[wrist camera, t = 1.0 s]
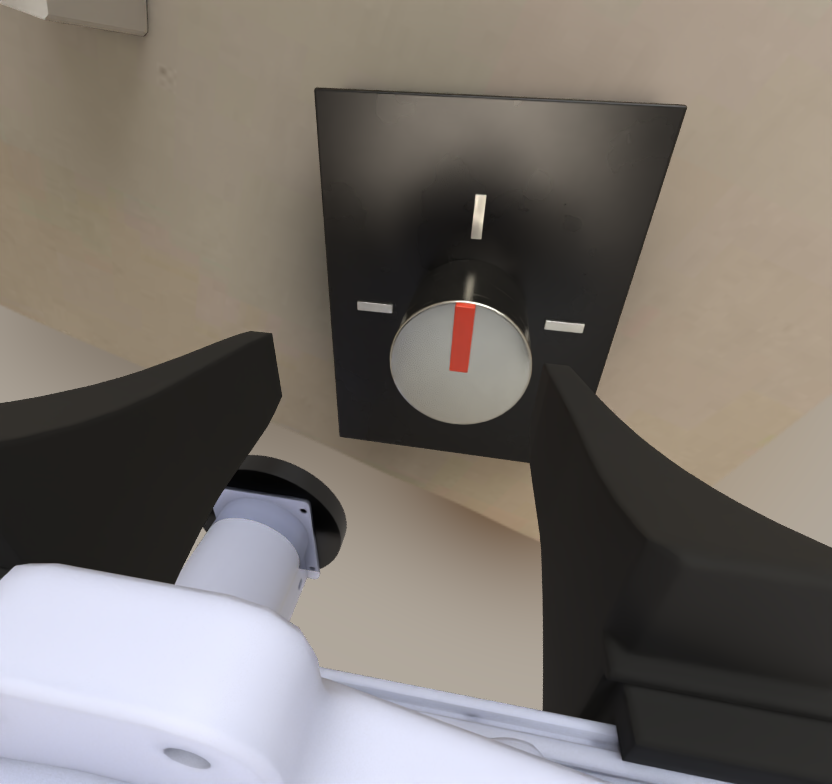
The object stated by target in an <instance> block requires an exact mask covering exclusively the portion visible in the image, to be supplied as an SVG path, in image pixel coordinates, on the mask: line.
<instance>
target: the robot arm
mask: <svg viewBox="0 0 832 784" xmlns="http://www.w3.org/2000/svg"><path fill="white" fill-rule="evenodd" d="M281 398H282V392H281V386H280V380H279V374H278V368H277V361H276V355H275V349H274V343H273V337H272V333H263V332H254V331H249V332H245V333H242V334H238V335H235V336H233V337H230V338H227V339H224V340H222V341H219V342H217V343H214V344H211V345H209V346H206V347H204V348H201V349H199V350H196V351H194V352H191V353H189V354H186V355H184V356H181V357H178V358H176V359H173V360H170V361H167V362H164V363H162V364H159V365H156V366H153V367H151V368H148V369H145V370H142V371H139V372H136V373H133V374H130V375H127V376H124V377H120V378H116V379H113V380H109V381H106V382H102V383H99V384H95V385H91V386H87V387H82V388H78V389H73V390H68V391H64V392H59V393H55V394H50V395H45V396H41V397H35V398H29V399H23V400H18V401H12V402H5V403H0V784H832V548H831V547H829V546H827V545H825V544H822V543H820V542H817V541H816V540H814V539H811V538H809V537H807V536H805V535H803V534H801V533H798V532H796V531H794V530H792V529H790V528H787V527H785V526H783V525H781V524H778V523H777V522H775V521H773V520H771V519H769V518H767V517H765V516H763V515H761V514H759V513H757V512H755V511H753V510H751V509H750V508H748V507H746V506H744V505H742V504H740V503H738V502H736V501H735V500H733V499H731V498H729V497H728V496H726V495H724V494H722V493H721V492H719V491H717V490H716V489H714V488H712V487H711V486H709V485H707V484H706V483H704V482H703V481H701V480H700V479H698V478H696V477H695V476H693V475H692V474H690V473H688V472H687V471H685V470H684V469H682V468H681V467H679V466H678V465H677V464H675V463H674V462H672V461H671V460H669V459H668V458H667V457H665V456H664V455H663V454H661V453H660V452H659V451H657V450H656V449H655V448H653V447H652V446H651V445H649V444H648V443H647V442H646V441H645V440H643V439H642V438H641V437H640V436H638V435H637V434H636V433H635V432H634V431H633V430H632V429H631V428H629V427H628V426H627V425H626V424H625V423H624V422H623V421H622V420H620V419H619V418H618V417H617V416H616V415H615V414H614V413H613V412H612V411H611V410H610V409H609V408H608V407H607V406H606V405H605V404H604V403H603V402H602V401H601V400H600V399H599V398H598V397H597V395H596V394H595V393H594V392H593V391H592V390H591V389H590V388H589V387H588V386H587V385H586V384H585V382H584V381H583V380H582V379H581V378H580V377H579V376H578V375H577V374H576V373H575V371H574V370H573V369H572V368H571V367H570V366H566V365H557V364H548V363H544V365H543V369H542V373H541V378H540V382H539V387H538V391H537V396H536V400H535V405H534V409H533V413H532V418H531V422H530V427H529V461H530V469H531V476H532V483H533V490H534V497H535V504H536V511H537V518H538V525H539V532H540V542H541V556H542V557H541V558H542V589H543V590H542V591H543V711H541V710H536V709H531V708H526V707H521V706H516V705H511V704H505V703H500V702H495V701H490V700H485V699H480V698H475V697H470V696H465V695H460V694H454V693H449V692H444V691H440V690H435V689H430V688H424V687H419V686H414V685H409V684H404V683H399V682H393V681H389V680H383V679H379V678H374V677H369V676H364V675H358V674H353V673H348V672H343V671H338V670H332V669H328V668H323V667H319V663H318V659H317V657H316V655H315V653H314V651H313V649H312V647H311V646H310V644H309V642H308V641H307V639H306V638H305V636H304V634H303V633H302V631H301V630H300V628H299V627H297V626H296V625H294V624H293V623H291V622H290V619H291V616H292V614H293V611H294V609H295V606H296V604H297V601H298V599H299V596H300V594H301V592H302V589H303V587H304V584H305V582H306V579H307V578H310V579H318V578H319V576H320V567H319V560H318V552H317V545H316V537H315V530H314V523H313V515H312V508H311V503H310V501H309V500H307V499H305V498H299V497H292V496H286V495H280V494H273V493H267V492H260V491H254V490H247V489H241V488H235V487H228V486H226V485H227V484H228V483H229V481H230V480H231V478H232V477H233V475H234V474H235V473H236V471H237V470H238V468H239V467H240V465H241V464H242V463H243V461H244V460H245V458H246V457H247V455H248V454H249V453H250V451H251V450H252V448H253V447H254V445H255V444H256V442H257V441H258V440H259V438H260V437H261V435H262V434H263V432H264V431H265V429H266V428H267V426H268V424H269V423H270V421H271V419H272V417H273V415H274V413H275V411H276V409H277V406H278V404H279V402H280V400H281ZM212 509H214V513H215V516H216V520H215V521H214V523H213V524H212V526H211V527H210V528H209V530H208V531H207V533H206V534H205V536H204V537H203V539H202V540H201V542H200V543H199V545H198V546H197V548H196V549H195V551H194V552H193V554H192V555H191V556H190V558H189V559H188V561H187V562H186V564H185V565H184V563H185V561H186V559H187V557H188V555H189V553H190V551H191V549H192V547H193V545H194V543H195V541H196V539H197V537H198V535H199V533H200V531H201V529H202V527H203V525H204V524H205V522H206V520H207V518H208V516H209V514H210V513H211V511H212ZM183 565H184V567H183ZM182 567H183V568H182ZM181 569H182V570H181Z"/></svg>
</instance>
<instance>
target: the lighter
mask: <svg viewBox="0 0 832 784" xmlns="http://www.w3.org/2000/svg"><path fill="white" fill-rule="evenodd" d="M0 4H3V5H5V6H8V7H11V8H14V9H16V10H19V11H22V12H24V13H27V14H30V15H33V16H35V17H38V18H41V19H44V20H49V21H55V22H61V23H67V24H73V25H79V26H85V27H91V28H97V29H103V30H109V31H115V32H121V33H127V34H132V35H138V36H144V35H145V34H146V33H147V32H148V31H147V10H146V0H0Z"/></svg>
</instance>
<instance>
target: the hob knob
mask: <svg viewBox="0 0 832 784" xmlns="http://www.w3.org/2000/svg"><path fill="white" fill-rule="evenodd" d="M390 369H391V374H392V377H393V380H394V382H395V384H396V386H397V388H398V390H399V392H400V393H401V394H402V396H403V397H404V398H405V399H406V400H407V402H408V403H409V404H411V405H412V406H413V407H414V408H415V409H417V410H418V411H420V412H421V413H423V414H425V415H426V416H428V417H431V418H433V419H436V420H439V421H442V422H446V423H451V424H476V423H481V422H485V421H488V420H491V419H494V418H496V417H498V416H500V415H502V414H503V413H505V412H506V411H508V410H509V409H510V408H511V407H513V406H514V405H515V404H516V403H517V402H518V400H519V399H520V398H521V397H522V395H523V394H524V392H525V391H526V389H527V387H528V384H529V382H530V378H531V374H532V352H531V343H530V334H529V325H528V316H527V308H526V302H525V299H524V295H523V293H522V291H521V289H520V287H519V286H518V284H517V283H516V281H515V280H514V279H513V278H512V277H511V276H510V275H509V274H508V273H507V272H505V271H504V270H503V269H501V268H499V267H498V266H496V265H493V264H491V263H489V262H485V261H482V260H475V259H462V260H455V261H451V262H448V263H445V264H443V265H441V266H439V267H437V268H435V269H434V270H433V271H431V272H430V273H429V274H428V275H427V276H426V277H425V278H424V279H423V280H422V281H421V282H420V284H419V285H418V287H417V289H416V290H415V293H414V295H413V297H412V299H411V301H410V304H409V306H408V308H407V310H406V312H405V315H404V317H403V319H402V321H401V324H400V326H399V328H398V330H397V332H396V335H395V337H394V339H393V342H392V345H391V350H390Z"/></svg>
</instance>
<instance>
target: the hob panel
mask: <svg viewBox="0 0 832 784" xmlns="http://www.w3.org/2000/svg"><path fill="white" fill-rule="evenodd" d="M314 93H315V107H316V121H317V134H318V148H319V162H320V175H321V189H322V203H323V216H324V230H325V243H326V257H327V271H328V284H329V298H330V312H331V325H332V339H333V352H334V366H335V380H336V393H337V407H338V421H339V434H340V437H345V438H353V439H360V440H367V441H374V442H382V443H389V444H396V445H403V446H411V447H418V448H425V449H432V450H440V451H447V452H454V453H461V454H469V455H476V456H483V457H490V458H498V459H505V460H512V461H519V462H527V463H530V461H529V427H530V422H531V418H532V413H533V409H534V405H535V400H536V396H537V391H538V387H539V382H540V378H541V373H542V369H543V365H544V363H548V364H557V365H566V366H570V367H571V368H572V369H573V370H574V371H575V373H576V374H577V375H578V376H579V377H580V378H581V379H582V380H583V381H584V382H585V384H586V385H587V386H588V387H589V388H590V389H591V390H592V391H593V392H594V393H595V394H596V391H597V388H598V384H599V381H600V378H601V375H602V372H603V369H604V366H605V363H606V359H607V356H608V353H609V350H610V347H611V344H612V341H613V338H614V334H615V331H616V328H617V325H618V322H619V319H620V316H621V313H622V309H623V306H624V303H625V300H626V297H627V294H628V291H629V288H630V285H631V281H632V278H633V275H634V272H635V269H636V266H637V263H638V260H639V256H640V253H641V250H642V247H643V244H644V241H645V238H646V235H647V231H648V228H649V225H650V222H651V219H652V216H653V213H654V210H655V206H656V203H657V200H658V197H659V194H660V191H661V188H662V185H663V181H664V178H665V175H666V172H667V169H668V166H669V163H670V160H671V156H672V153H673V150H674V147H675V144H676V141H677V138H678V135H679V131H680V128H681V125H682V122H683V119H684V116H685V113H686V110H687V106H686V105H679V104H657V103H636V102H615V101H594V100H572V99H551V98H530V97H508V96H487V95H466V94H445V93H423V92H402V91H381V90H360V89H338V88H315V90H314ZM462 259H475V260H482V261H485V262H489V263H491V264H493V265H496V266H498V267H499V268H501V269H503V270H504V271H505V272H507V273H508V274H509V275H510V276H511V277H512V278H513V279H514V280H515V281H516V283H517V284H518V286H519V287H520V289H521V291H522V293H523V295H524V299H525V302H526V308H527V316H528V325H529V334H530V343H531V352H532V374H531V378H530V382H529V384H528V387H527V389H526V391H525V392H524V394H523V395H522V397H521V398H520V399H519V400H518V402H517V403H516V404H515V405H514V406H513V407H511V408H510V409H509V410H508V411H506V412H505V413H503V414H502V415H500V416H498V417H496V418H494V419H491V420H488V421H485V422H481V423H476V424H451V423H446V422H442V421H439V420H436V419H433V418H431V417H428V416H426V415H425V414H423V413H421V412H420V411H418V410H417V409H415V408H414V407H413V406H412V405H411V404H409V403H408V402H407V400H406V399H405V398H404V397H403V396H402V394H401V393H400V392H399V390H398V388H397V386H396V384H395V382H394V380H393V377H392V374H391V369H390V350H391V345H392V342H393V339H394V337H395V335H396V332H397V330H398V328H399V326H400V324H401V321H402V319H403V317H404V315H405V312H406V310H407V308H408V306H409V304H410V301H411V299H412V297H413V295H414V293H415V290H416V289H417V287H418V285H419V284H420V282H421V281H422V280H423V279H424V278H425V277H426V276H427V275H428V274H429V273H430V272H431V271H433V270H434V269H435V268H437V267H439V266H441V265H443V264H445V263H448V262H451V261H455V260H462Z"/></svg>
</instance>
